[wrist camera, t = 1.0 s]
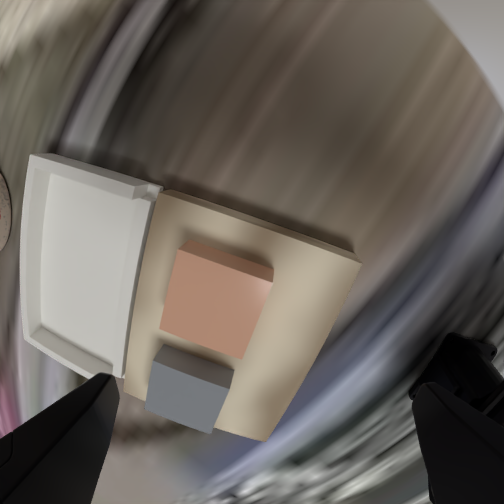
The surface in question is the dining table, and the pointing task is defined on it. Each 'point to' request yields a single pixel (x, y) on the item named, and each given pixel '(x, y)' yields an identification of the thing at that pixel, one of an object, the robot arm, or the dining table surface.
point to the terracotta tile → (215, 298)
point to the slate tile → (187, 388)
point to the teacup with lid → (4, 213)
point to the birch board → (271, 318)
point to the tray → (82, 260)
